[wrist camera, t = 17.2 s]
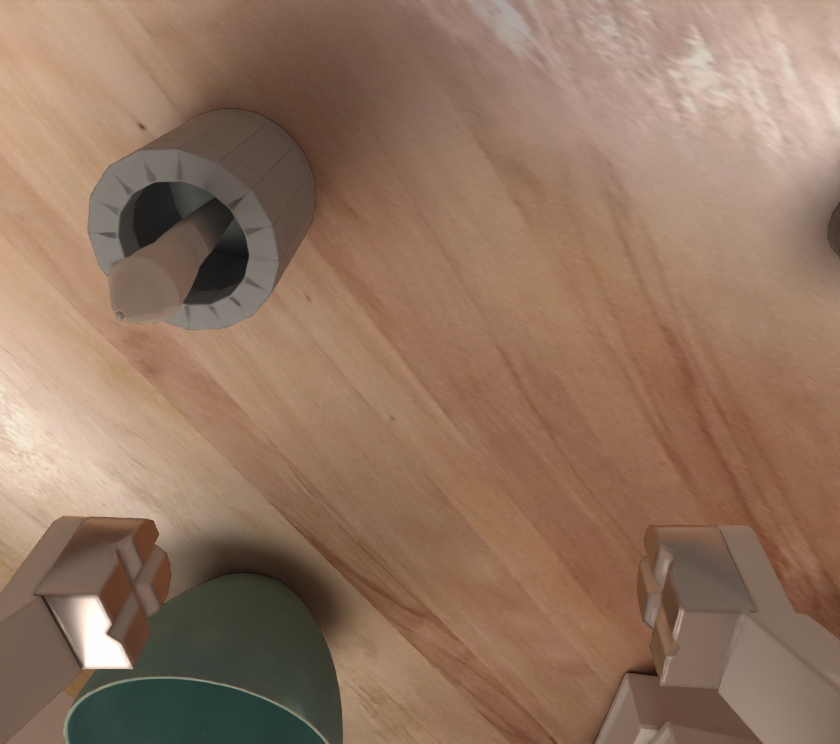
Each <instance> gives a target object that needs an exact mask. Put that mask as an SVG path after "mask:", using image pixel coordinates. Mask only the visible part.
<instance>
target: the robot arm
mask: <svg viewBox="0 0 840 744" xmlns="http://www.w3.org/2000/svg"><path fill="white" fill-rule="evenodd" d="M158 536H159V532H158V530H157V528H156V525H155V523H154V521H153V520H149V519H140V518H115V517H77V516H62V517H60V518H59V519H57V520H55V521H54V522H53V523H52V524H51V525H50V527H49V528H48V529H47V531H46V532H45V534H44V535H43V536H42V538H41V539H40V540H39V542H38V543H37V544H36V546H35V547H34V549H33V550H32V551H31V553H30V554H29V555H28V557H27V558H26V559H25V561H24V562H23V564H22V565H21V566H20V568H19V569H18V570H17V572H16V573H15V574H14V576H13V577H12V579H11V580H10V581H9V583H8V584H7V585H6V587H5V588H4V589H3V591H2V592H1V593H0V744H6V743H7V742H8V741H9V740H10V739H11V738H12V737H13V736H14V735H15V734H16V733H17V732H18V731H19V730H21V729H22V727H24V726H25V725H26V724H27V723H28V722H29V721H30V720H31V719H32V718H33V717H34V716H36V715H37V714H38V713H39V712H40V711H41V710H42V709H43V708H44V707H45V706H46V705H47V704H48V703H49V702H50V701H52V699H54V698H55V697H56V696H57V695H58V694H59V693H60V692H61V691H62V690H63V689H64V688H65V687H67V686H68V685H69V684H70V683H71V682H72V681H73V680H74V679H75V678H76V677H77V676H78V675H79V674H80V673H81V672H82V669H133V668H134V666H135V663H136V661H137V659H138V657H139V655H140V653H141V651H142V649H143V647H144V644H145V642H146V640H147V638H148V636H149V634H150V630H149V626H148V623H147V620H148V619H149V618H150V617H151V616H153V615H154V614H155V613H156V612H158V611H159V610H160V609H161V608H162V606H163V603H164V601H165V599H166V597H167V594H168V590H169V585H170V579H171V570H170V562H169V559H168V556H167V553H166V552H165V551H163V550H162V549H161V548H159V547H158V546H157V545H156V544H155V542H156V540H157V538H158ZM644 546H645V549H646V553H647V556H645V557H644V558H643V559H642V560H640V561H639V567H638V573H637V594H638V601H639V607H640V611H641V615H642V619H643V621H644V622H645V623H646V624H647V625H648V626H649V627H650V628H651V629H652V630H653V633H652V637H651V642H650V650H651V653H652V657H653V661H654V664H655V668H656V672H657V675H658V679H659V683H660V686H674V687H691V688H708V689H719V690H718V693H719V694H720V695H721V696H722V697H723V699H724V700H725V701H726V702H727V703H728V704H729V705H730V706H731V708H732V709H733V710H734V711H735V712H736V713H737V714H738V716H739V717H740V718H741V719H742V720H743V721H744V722H745V724H746V725H747V726H748V727H749V728H750V729H751V730H752V731H753V733H754V734H755V735H756V736H757V737H758V738H759V739H760V741H761V742H762V743H763V744H840V639H839V638H837V637H836V636H835V635H833V634H832V633H831V632H829V631H828V630H827V629H825V628H824V627H823V626H822V625H820V624H819V623H818V622H816V621H815V620H814V619H812V618H811V617H810V616H809V615H807V614H800V613H795V611H794V609H793V607H792V605H791V603H790V601H789V599H788V597H787V595H786V593H785V591H784V589H783V587H782V585H781V583H780V581H779V579H778V577H777V575H776V573H775V571H774V569H773V567H772V565H771V563H770V561H769V559H768V557H767V555H766V553H765V551H764V549H763V547H762V545H761V544H760V542H759V540H758V538H757V536H756V534H755V532H754V530H753V529H752V528H750V527H749V526H748V525H715V526H712V525H649V526H648V528H647V530H646V533H645V537H644Z"/></svg>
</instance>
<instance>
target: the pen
mask: <svg viewBox="0 0 840 744" xmlns="http://www.w3.org/2000/svg"><path fill="white" fill-rule="evenodd" d="M233 219H234V215H233V214H232V212H231V211H230V209H229V208H228V207H227V206H226V205H224V204H223V203H222V202H221V201H219V200H218V199H217V198H216V197H214V198H213V199H212V200H210V201H209V202H207V203H206V204H204V205H203V206H201V207H200V208H198V209H197V210H195V211H194V212H192V213H191V214H189V215H188V216H186V217H185V218H183V219H182V220H180V221H178V222H177V223H175V224H174V225H173V226H172V227H171V228H170V229H169V230H168V231H167V232H165V233H164V234H163V235H162V236H161V237H160V238H158V239H157V240H156V242H154V243H152V244H150V245H148V246H146V247H144V248H142V249H140V250H138V251H136V252H135V253H133V254H132V255H131V256H130V257H126V258H123V259H121V260H120V261H119V262H117V263H116V264H114V265H113V266H112V268H111V270H110V272H109V275H108V282H109V288H110V298H111V303H112V308H113V311H114V314H115V316H116V319H118V320H120V321H124V322H129V323H136V324H141V323H152V324H154V323H160V322H165V321H167V320H168V319H170V318H172V317H173V316H175V315H176V313H177V311H178V309H179V307H180V306H181V304H182V303H183V302H184V300H185V298H186V297H187V295H188V293H189V291H190V289H191V287H192V285H193V282H194V280H195V278H196V276H197V273H198V270H199V266H200V265H201V264H202V263H203V261H204V259H205V258H206V257H207V256H208V255H209V254H210V253H211V252H212V250H213V249H214V248H215V246H216V245H217V243H218V242H219V240H220V239H221V237H222V235H223V234H224V232H225V231H226V229H227V228H228V226H229V225H230V223H231V222H232V220H233Z"/></svg>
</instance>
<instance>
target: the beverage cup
mask: <svg viewBox="0 0 840 744" xmlns="http://www.w3.org/2000/svg"><path fill="white" fill-rule="evenodd" d="M828 240H829V243H830V246H831V248H832V249H833V250H834V251H835V252H836V253H837V254H838V256H839V257H840V203H839V205H838V206H837V208H836V209H835V210H834V212H833V214H832V216H831V219H830V222H829V224H828Z"/></svg>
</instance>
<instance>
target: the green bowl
mask: <svg viewBox="0 0 840 744" xmlns="http://www.w3.org/2000/svg"><path fill="white" fill-rule="evenodd" d="M147 623H148V626H149V630H150V634H149V636H148V638H147V640H146V642H145V644H144V647H143V649H142V651H141V653H140V655H139V657H138V659H137V661H136V663H135V666H134V668H133V669H96V670H95V672H94V673H93V674H92V676H91V677H90V678H89V680H88V681H87V683H86V684H85V685H84V687H83V688H82V690H81V691H80V693H79V695H78V696H77V698H76V699H75V701H74V703H73V704H72V706H71V708H70V710H69V712H68V713H67V715H66V718H65V721H64V728H63V733H64V740H65V743H66V744H343V726H342V708H341V699H340V691H339V686H338V681H337V676H336V671H335V667H334V664H333V660H332V657H331V654H330V651H329V648H328V645H327V643H326V641H325V639H324V636H323V634H322V632H321V630H320V629H319V627H318V625H317V623H316V621H315V620H314V618H313V616H312V615H311V613H310V612H309V610H308V609H307V607H306V606H305V604H304V603H303V602H302V600H301V599H300V598H299V597H298V596H297V595H296V594H295V593H294V592H293V591H292V590H291V589H290V588H288V587H287V586H285V585H284V584H282V583H281V582H279V581H277V580H274V579H272V578H269V577H266V576H262V575H257V574H250V573H236V574H229V575H224V576H221V577H217V578H215V579H212V580H209V581H207V582H205V583H202V584H200V585H198V586H195V587H193V588H191V589H189V590H187V591H185V592H183V593H181V594H179V595H178V596H176V597H174V598H173V599H171V600H169V601H168V602H166V603H165V604H163V606H162V608H161V609H160V610H159V611H158V612H156V613H155V614H154V615H153V616H151V617H150V618H149V619H148V620H147Z"/></svg>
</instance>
